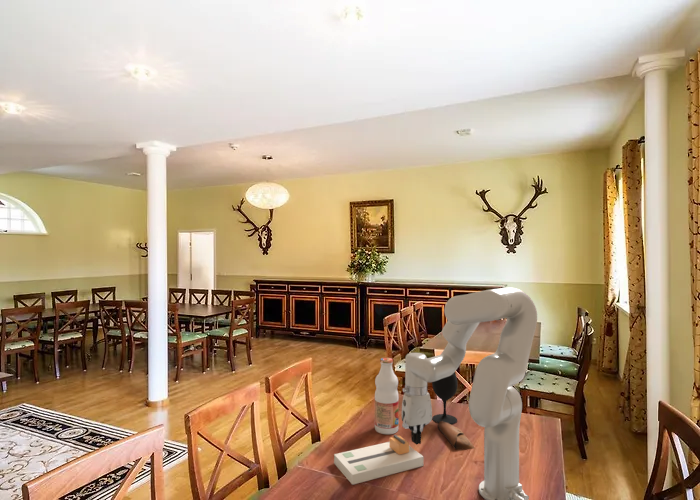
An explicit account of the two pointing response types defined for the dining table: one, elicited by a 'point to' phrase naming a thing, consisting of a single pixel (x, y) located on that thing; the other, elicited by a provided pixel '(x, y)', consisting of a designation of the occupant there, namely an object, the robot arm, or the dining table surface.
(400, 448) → the fader knob
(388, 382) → the fruit juice
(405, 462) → the fader console
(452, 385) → the wine glass
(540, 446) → the dining table surface
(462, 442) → the sunglasses case
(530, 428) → the dining table surface
